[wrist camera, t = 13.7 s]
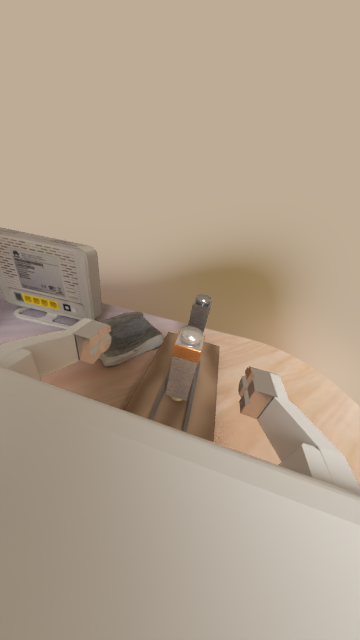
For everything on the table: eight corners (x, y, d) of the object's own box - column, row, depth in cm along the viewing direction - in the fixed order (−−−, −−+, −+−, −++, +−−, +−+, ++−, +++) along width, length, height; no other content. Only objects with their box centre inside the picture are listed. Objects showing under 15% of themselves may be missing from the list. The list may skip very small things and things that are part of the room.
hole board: (69, 520, 17) (64, 514, 16) (167, 337, 46) (168, 330, 45) (200, 581, 16) (206, 580, 14) (217, 352, 45) (220, 344, 43)
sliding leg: (164, 397, 28) (175, 336, 22) (170, 379, 32) (182, 322, 25) (185, 404, 28) (204, 344, 21) (190, 386, 31) (207, 329, 24)
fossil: (139, 319, 53) (140, 308, 51) (167, 349, 43) (169, 337, 41) (85, 331, 44) (83, 319, 42) (105, 372, 34) (103, 359, 32)
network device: (107, 318, 50) (102, 246, 40) (88, 334, 42) (76, 251, 32) (28, 299, 51) (3, 225, 41) (-4, 312, 44) (-44, 226, 33)
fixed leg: (183, 347, 40) (194, 298, 34) (186, 339, 44) (196, 292, 37) (197, 352, 40) (211, 302, 33) (199, 343, 43) (213, 296, 36)
